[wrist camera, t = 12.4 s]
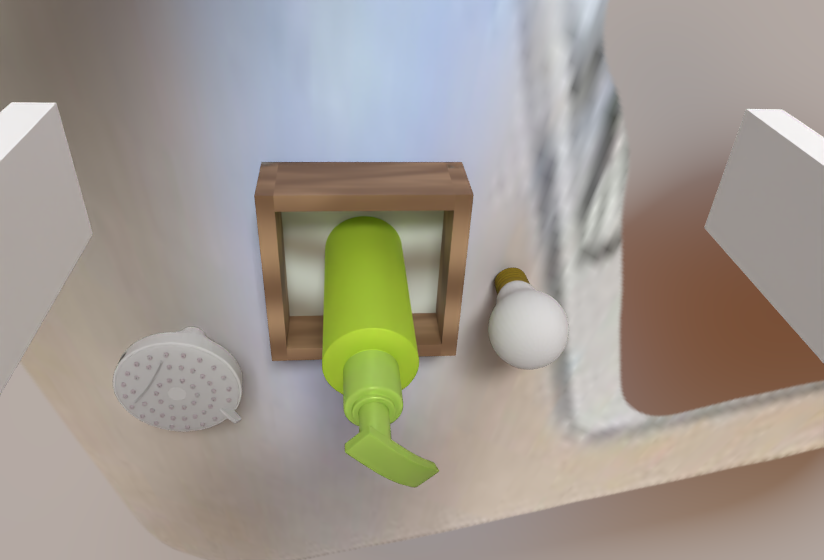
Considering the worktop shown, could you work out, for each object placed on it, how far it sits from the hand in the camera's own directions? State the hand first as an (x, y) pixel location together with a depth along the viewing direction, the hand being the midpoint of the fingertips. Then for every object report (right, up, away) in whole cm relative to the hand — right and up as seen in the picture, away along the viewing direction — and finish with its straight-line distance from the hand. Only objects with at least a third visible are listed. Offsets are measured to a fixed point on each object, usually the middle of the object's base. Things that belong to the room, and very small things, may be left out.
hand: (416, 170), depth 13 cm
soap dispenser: (-3, 0, +38) cm, 38 cm away
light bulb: (+8, -2, +41) cm, 42 cm away
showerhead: (-18, -7, +42) cm, 46 cm away
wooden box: (-4, 0, +38) cm, 39 cm away
